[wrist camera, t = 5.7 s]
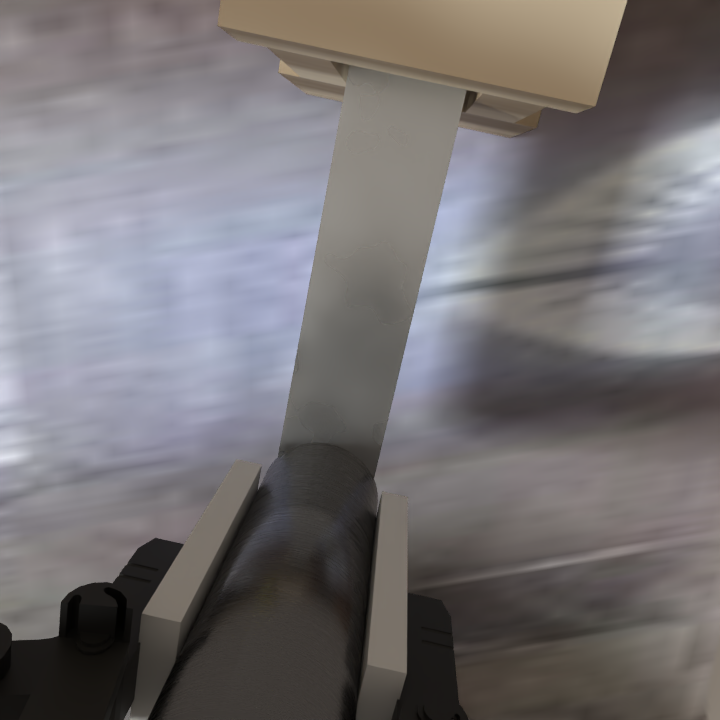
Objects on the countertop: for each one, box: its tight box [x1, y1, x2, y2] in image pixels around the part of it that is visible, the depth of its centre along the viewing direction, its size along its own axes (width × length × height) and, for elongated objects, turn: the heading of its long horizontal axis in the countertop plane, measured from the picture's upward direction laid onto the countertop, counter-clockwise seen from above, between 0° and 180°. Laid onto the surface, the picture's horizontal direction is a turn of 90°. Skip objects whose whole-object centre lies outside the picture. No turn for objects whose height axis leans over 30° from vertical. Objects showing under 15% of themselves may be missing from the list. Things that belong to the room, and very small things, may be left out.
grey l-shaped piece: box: [147, 65, 467, 720], centre depth 12 cm, size 24×4×13 cm, turn 168°
